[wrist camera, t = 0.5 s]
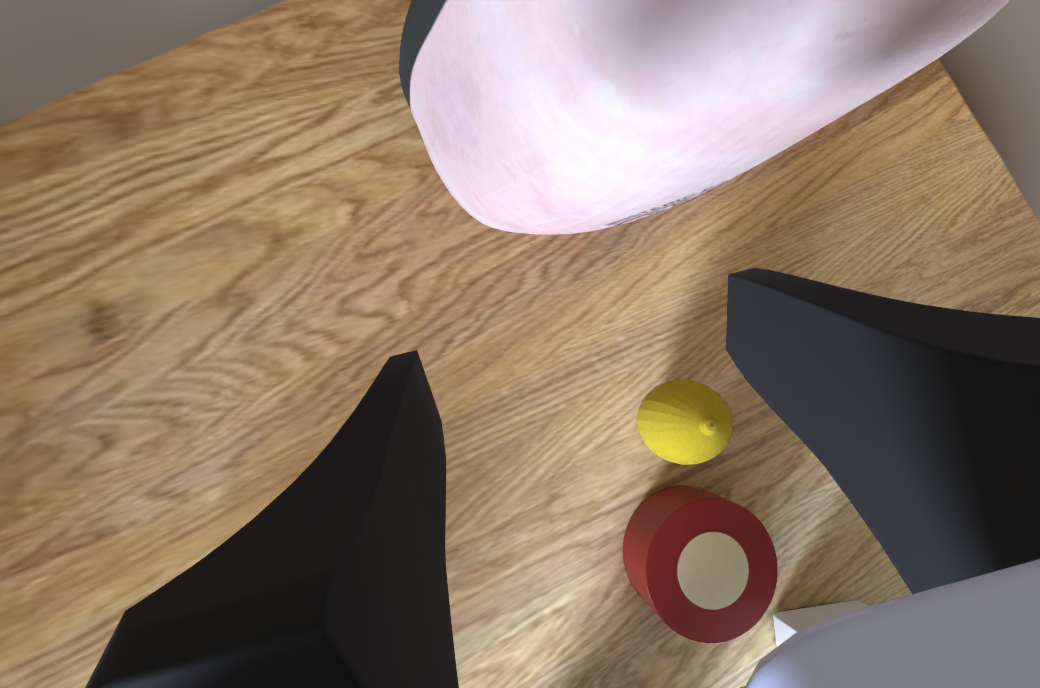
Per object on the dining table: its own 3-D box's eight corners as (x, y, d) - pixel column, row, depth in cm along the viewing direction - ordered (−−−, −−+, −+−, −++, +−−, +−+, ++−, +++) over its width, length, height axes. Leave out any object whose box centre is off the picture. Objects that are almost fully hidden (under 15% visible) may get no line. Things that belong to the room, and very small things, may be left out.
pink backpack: (614, -18, 41) (1038, -1079, 11) (749, 190, 41) (1529, -331, 11) (373, 112, 38) (78, -920, 8) (520, 339, 38) (774, 150, 8)
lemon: (684, 373, 39) (743, 369, 31) (701, 446, 39) (765, 461, 31) (615, 389, 38) (657, 389, 30) (632, 464, 38) (679, 483, 30)
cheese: (755, 589, 38) (795, 617, 34) (642, 630, 37) (668, 664, 32) (720, 470, 39) (756, 481, 34) (607, 506, 37) (629, 523, 33)
